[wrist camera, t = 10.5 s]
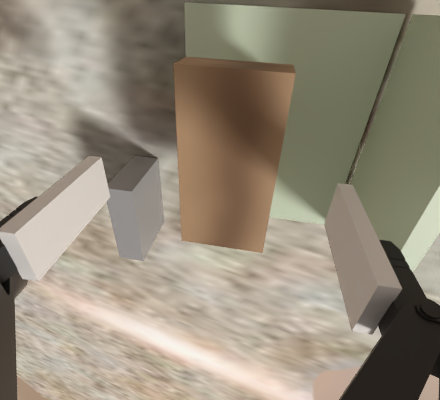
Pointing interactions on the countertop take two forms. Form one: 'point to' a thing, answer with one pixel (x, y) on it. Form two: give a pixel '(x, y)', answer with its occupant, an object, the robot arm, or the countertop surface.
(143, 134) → the countertop surface
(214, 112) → the shelf board
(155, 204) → the block
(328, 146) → the cabinet
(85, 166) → the robot arm
